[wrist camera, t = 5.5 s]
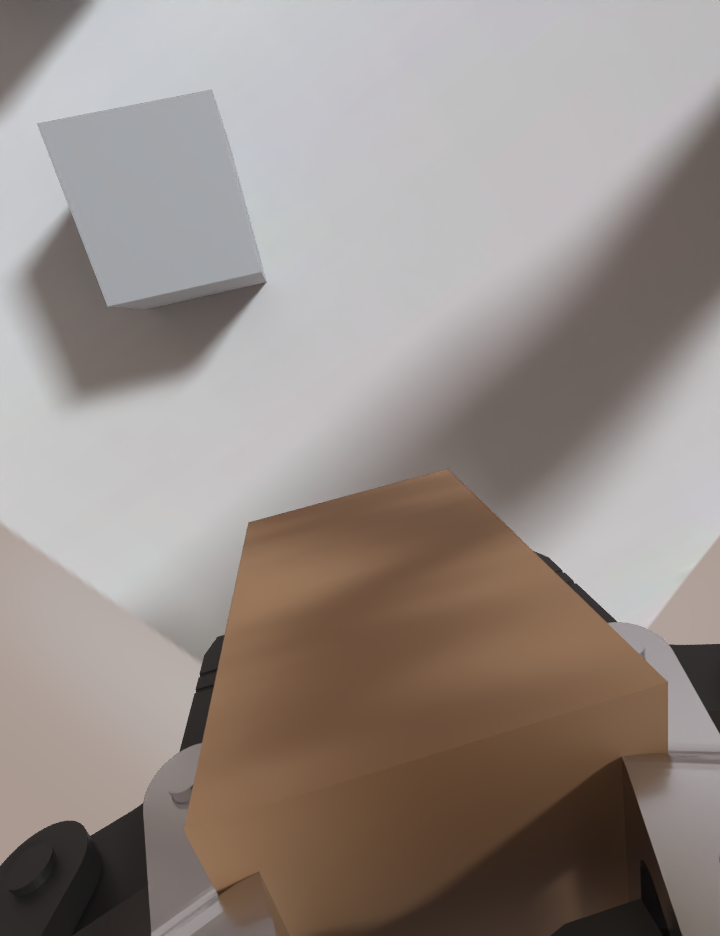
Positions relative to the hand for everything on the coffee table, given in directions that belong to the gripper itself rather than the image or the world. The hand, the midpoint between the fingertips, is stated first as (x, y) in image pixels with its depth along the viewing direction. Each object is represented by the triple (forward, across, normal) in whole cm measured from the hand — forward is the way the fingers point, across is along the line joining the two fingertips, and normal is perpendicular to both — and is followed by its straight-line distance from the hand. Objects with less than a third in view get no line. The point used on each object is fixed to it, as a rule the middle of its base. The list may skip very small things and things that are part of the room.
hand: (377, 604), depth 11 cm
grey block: (+18, +4, -12) cm, 22 cm away
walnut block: (+1, 0, 0) cm, 1 cm away
